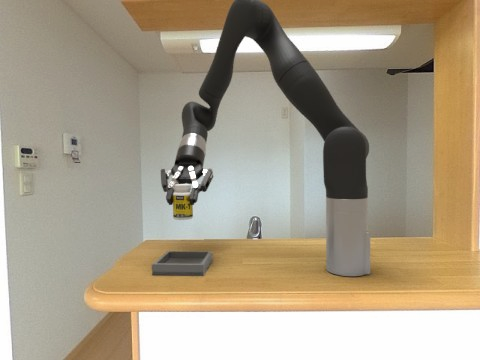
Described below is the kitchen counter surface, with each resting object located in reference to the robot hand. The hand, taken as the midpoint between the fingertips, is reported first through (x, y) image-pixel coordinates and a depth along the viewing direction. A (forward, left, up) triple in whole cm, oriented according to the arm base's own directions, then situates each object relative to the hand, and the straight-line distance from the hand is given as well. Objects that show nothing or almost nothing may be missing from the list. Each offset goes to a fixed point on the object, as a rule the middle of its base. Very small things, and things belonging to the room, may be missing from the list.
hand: (180, 202), depth 81 cm
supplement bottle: (0, -2, -4) cm, 5 cm away
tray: (0, -2, -16) cm, 16 cm away
